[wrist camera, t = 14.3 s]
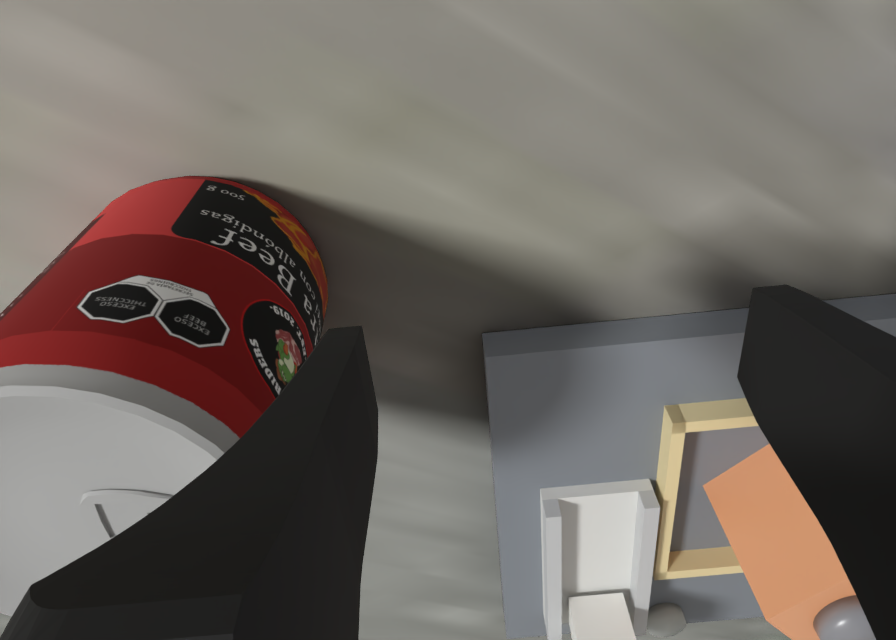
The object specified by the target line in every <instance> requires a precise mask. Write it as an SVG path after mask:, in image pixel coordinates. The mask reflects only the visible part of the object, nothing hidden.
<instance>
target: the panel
mask: <svg viewBox="0 0 896 640" xmlns="http://www.w3.org/2000/svg"><path fill="white" fill-rule="evenodd" d="M824 302H826V303H828V304H830V305H832V306H834V307H836V308H838V309H840V310H842V311H844V312H846V313H848V314H850V315H852V316H854V317H856V318H858V319H860V320H862V321H864V322H866V323H868V324H870V325H872V326H874V327H876V328H878V329H880V330H882V331H884V332H887V333H889V334H891V335H893V336H895V337H896V294H886V295H876V296H866V297H855V298H845V299H834V300H824ZM748 312H749V308H741V309H730V310H720V311H710V312H699V313H689V314H678V315H668V316H658V317H647V318H637V319H627V320H616V321H606V322H595V323H585V324H575V325H564V326H554V327H543V328H533V329H523V330H512V331H502V332H491V333H482V340H483V353H484V365H485V378H486V391H487V404H488V417H489V429H490V442H491V455H492V468H493V480H494V493H495V506H496V519H497V532H498V544H499V557H500V570H501V583H502V595H503V608H504V618H505V626H506V635H507V639H512V638H523V637H535V636H546V635H547V638H548V640H562V634H569V633H571V631H570V626H569V621H568V597H578V596H589V595H601V594H612V593H623V595H624V599H625V602H626V606H627V609H628V613H629V616H630V620H631V623H632V627H633V630H634V633H635V636H640V635H646V628H647V629H648V632H649V633H650V634H651V635H653V636H656V637H669V636H673V635H676V634H678V633H679V632H681V631H682V630H683V629H684V628H685V626H686V623H696V622H707V621H719V620H730V619H742V618H753V617H764V615H763V613H762V610H761V608H760V606H759V604H758V602H757V600H756V598H755V596H754V594H753V591H752V589H751V587H750V585H749V583H748V581H747V579H746V577H745V574H744V572H743V570H742V568H741V566H740V564H739V562H738V560H737V557H736V555H735V553H734V551H733V549H732V547H731V545H730V543H729V540H728V538H727V536H726V534H725V532H724V530H723V528H722V526H721V524H720V521H719V519H718V517H717V515H716V513H715V511H714V509H713V507H712V504H711V502H710V500H709V498H708V496H707V494H706V492H705V490H704V487H703V485H705V484H706V483H708V482H709V481H711V480H712V479H714V478H716V477H717V476H719V475H720V474H722V473H724V472H725V471H727V470H728V469H730V468H731V467H733V466H735V465H736V464H738V463H739V462H741V461H743V460H744V459H746V458H747V457H749V456H750V455H752V454H754V453H755V452H757V451H758V450H760V449H762V448H763V447H765V446H766V445H768V444H770V443H769V442H768V440H767V439H766V437H765V435H764V434H763V432H762V430H761V429H760V427H759V425H758V424H757V422H756V420H755V418H754V416H753V413H752V411H751V409H750V407H749V405H748V402H747V400H746V398H745V395H744V393H743V390H742V388H741V385H740V383H739V381H738V378H737V374H738V368H739V363H740V357H741V352H742V346H743V340H744V335H745V329H746V323H747V318H748Z"/></svg>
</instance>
